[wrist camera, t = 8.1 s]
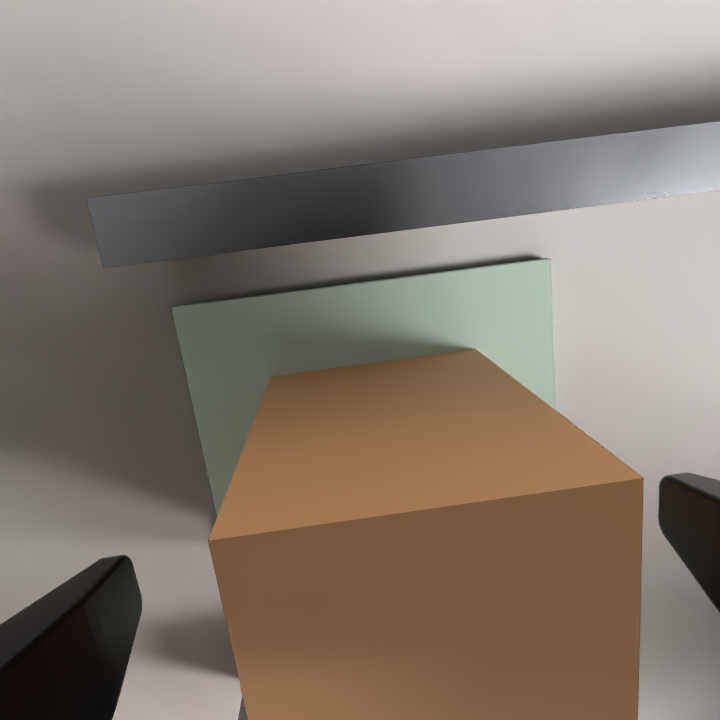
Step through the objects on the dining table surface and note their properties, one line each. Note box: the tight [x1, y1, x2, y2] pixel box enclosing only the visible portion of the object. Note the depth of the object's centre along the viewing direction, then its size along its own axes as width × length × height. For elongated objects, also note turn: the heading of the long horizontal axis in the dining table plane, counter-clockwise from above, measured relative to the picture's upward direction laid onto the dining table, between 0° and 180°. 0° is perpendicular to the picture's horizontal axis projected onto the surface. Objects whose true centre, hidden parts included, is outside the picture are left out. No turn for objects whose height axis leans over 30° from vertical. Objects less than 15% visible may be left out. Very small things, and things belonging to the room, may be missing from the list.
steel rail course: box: [86, 121, 720, 720], centre depth 11 cm, size 17×20×3 cm
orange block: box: [208, 349, 644, 720], centre depth 9 cm, size 4×4×6 cm
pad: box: [171, 258, 555, 516], centre depth 12 cm, size 8×8×1 cm
